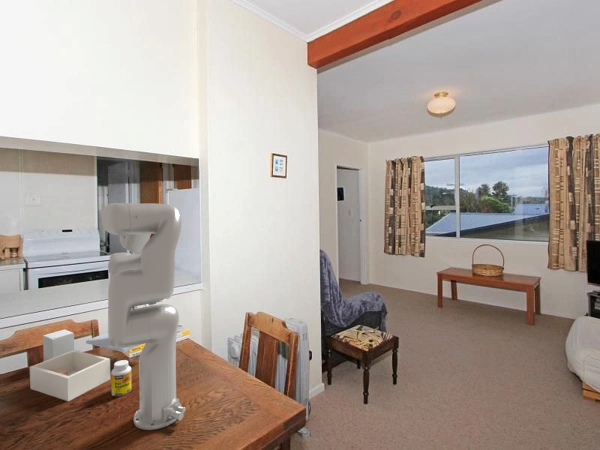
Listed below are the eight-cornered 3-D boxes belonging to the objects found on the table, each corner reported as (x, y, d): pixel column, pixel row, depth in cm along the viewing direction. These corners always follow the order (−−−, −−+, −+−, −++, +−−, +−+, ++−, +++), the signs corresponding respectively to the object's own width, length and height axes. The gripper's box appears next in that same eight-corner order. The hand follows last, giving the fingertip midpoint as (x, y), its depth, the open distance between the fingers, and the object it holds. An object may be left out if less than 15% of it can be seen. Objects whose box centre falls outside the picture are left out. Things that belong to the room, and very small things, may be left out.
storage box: (110, 381, 113) (110, 358, 112) (68, 404, 100) (67, 378, 99) (74, 371, 119) (73, 349, 119) (30, 391, 106) (29, 367, 106)
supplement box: (75, 366, 124) (74, 332, 123) (52, 374, 117) (51, 339, 117) (66, 361, 127) (65, 328, 127) (43, 369, 121) (42, 334, 121)
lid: (157, 336, 129) (157, 318, 128) (124, 352, 115) (123, 332, 114) (121, 329, 136) (121, 312, 135) (86, 343, 122) (85, 324, 121)
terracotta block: (68, 381, 111) (68, 369, 111) (59, 387, 107) (59, 375, 107) (56, 381, 111) (56, 369, 111) (47, 387, 107) (47, 375, 107)
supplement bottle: (112, 401, 101) (111, 368, 101) (110, 392, 106) (110, 361, 106) (132, 395, 104) (132, 363, 104) (130, 387, 109) (129, 357, 109)
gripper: (146, 286, 124) (147, 334, 125) (114, 281, 131) (115, 327, 132) (129, 290, 117) (130, 341, 118) (96, 286, 124) (97, 334, 125)
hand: (122, 334), depth 125 cm, fingers closed on lid, 3 cm apart
